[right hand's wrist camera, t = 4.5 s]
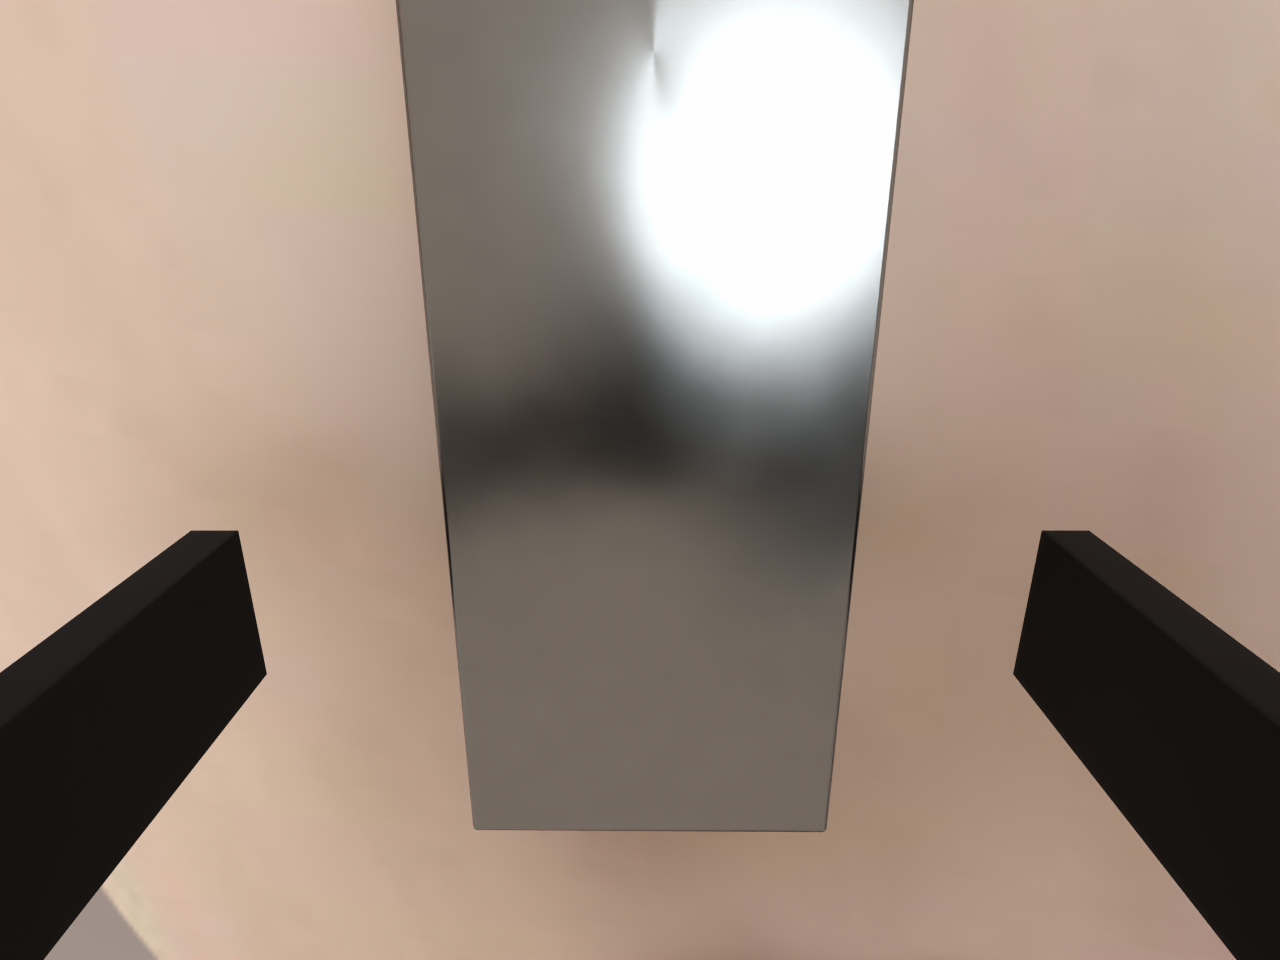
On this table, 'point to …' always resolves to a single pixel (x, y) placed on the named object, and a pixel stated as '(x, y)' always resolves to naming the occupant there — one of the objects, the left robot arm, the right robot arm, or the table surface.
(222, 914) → the table surface
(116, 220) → the table surface
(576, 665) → the bar
